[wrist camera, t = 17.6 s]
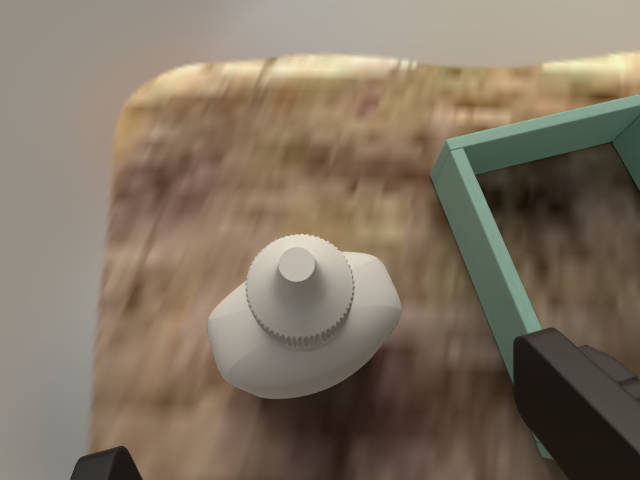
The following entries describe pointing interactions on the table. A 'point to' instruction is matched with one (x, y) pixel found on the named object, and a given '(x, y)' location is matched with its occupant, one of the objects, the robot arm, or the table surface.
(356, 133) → the table surface
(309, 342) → the eye dropper bottle
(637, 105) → the green rectangular frame
